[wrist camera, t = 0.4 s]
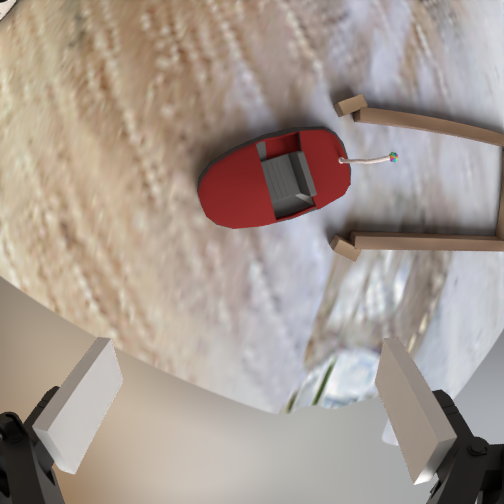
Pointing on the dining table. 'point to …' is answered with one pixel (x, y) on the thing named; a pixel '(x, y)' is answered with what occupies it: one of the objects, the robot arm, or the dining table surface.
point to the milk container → (6, 7)
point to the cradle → (418, 240)
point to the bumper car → (277, 177)
